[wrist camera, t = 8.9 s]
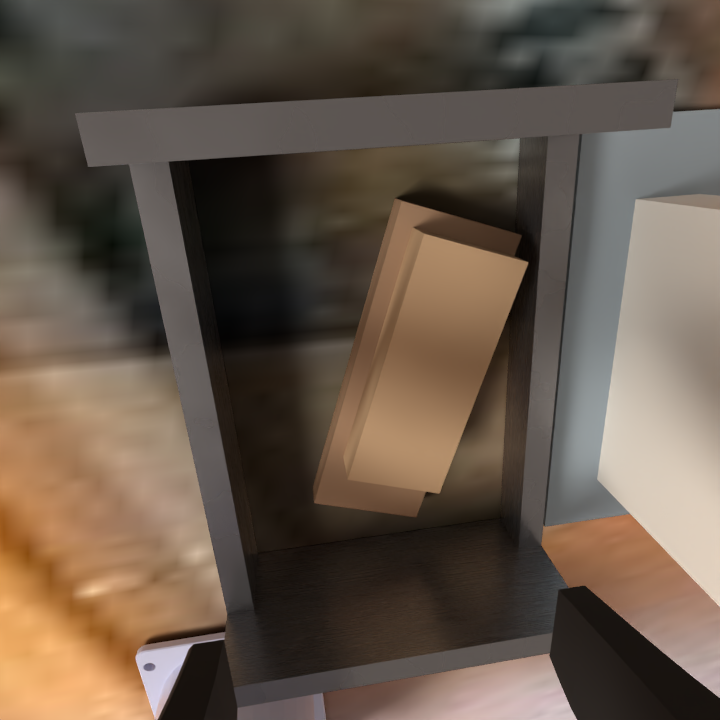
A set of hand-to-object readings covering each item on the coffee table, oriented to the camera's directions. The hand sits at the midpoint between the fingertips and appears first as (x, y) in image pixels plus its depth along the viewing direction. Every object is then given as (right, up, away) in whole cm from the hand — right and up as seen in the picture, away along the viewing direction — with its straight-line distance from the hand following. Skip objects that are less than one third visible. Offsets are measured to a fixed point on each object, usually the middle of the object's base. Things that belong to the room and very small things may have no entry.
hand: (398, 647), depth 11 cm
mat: (+11, +7, +10) cm, 16 cm away
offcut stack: (+1, +6, +9) cm, 11 cm away
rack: (0, +6, +9) cm, 11 cm away
